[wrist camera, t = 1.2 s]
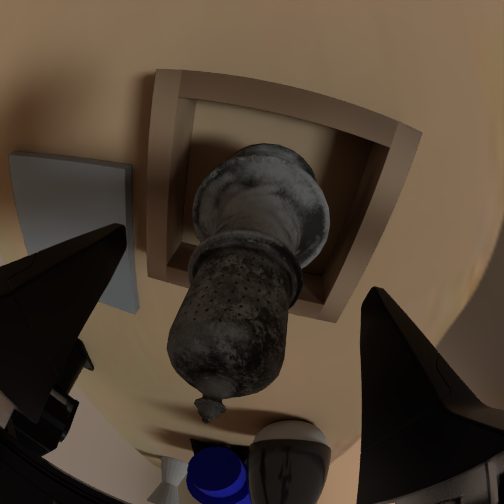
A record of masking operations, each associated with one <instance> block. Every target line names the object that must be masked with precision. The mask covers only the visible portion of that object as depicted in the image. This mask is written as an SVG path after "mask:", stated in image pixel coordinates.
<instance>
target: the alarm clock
mask: <svg viewBox="0 0 504 504" xmlns="http://www.w3.org/2000/svg"><path fill="white" fill-rule="evenodd" d="M190 441H191V445H192V448H193V452H194V456H193V457H192V458H191V460H190V462H189V463H188V468H187V472H188V474H187V479H186V482H187V487H188V490H189V492H190V493H191V495H192V496H193V497H194V498H195V499H196V500H198V501H199V502H200V503H202V504H251V501H250V496H249V491H248V484H247V455H248V449H246V450H242V451H239V452H235V453H234V452H233V451H231V450H229V449H227V448H223V447H210V448H205V447H203V446H202V445H200V444H198V443H197V442H195V441H193V440H192V439H190Z"/></svg>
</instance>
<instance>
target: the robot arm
mask: <svg viewBox="0 0 504 504" xmlns="http://www.w3.org/2000/svg"><path fill="white" fill-rule="evenodd" d="M126 248H127V235H126V227H125V226H124V225H122V224H119V223H113V224H110V225H107V226H104V227H101V228H99V229H96V230H93V231H90V232H88V233H85V234H82V235H79V236H77V237H74V238H71V239H69V240H66V241H64V242H61V243H59V244H56V245H53V246H51V247H48V248H46V249H44V250H41V251H39V252H38V253H37V252H36V253H34V254H31V255H29V256H26V257H24V258H22V259H19V260H17V261H14V262H11V263H9V264H6V265H3V266H1V267H0V504H131V503H128V502H125V501H123V500H121V499H118V498H116V497H114V496H111V495H109V494H107V493H105V492H103V491H100V490H98V489H96V488H94V487H92V486H90V485H88V484H86V483H84V482H83V481H81V480H79V479H77V478H75V477H73V476H71V475H70V474H68V473H66V472H64V471H63V470H61V469H60V468H58V467H56V466H55V465H53V464H52V463H50V462H48V461H47V460H45V459H44V458H42V457H41V456H43V455H45V454H47V453H49V452H51V451H52V450H54V449H56V448H57V446H58V443H59V442H62V441H63V440H64V439H65V437H66V435H67V434H68V431H69V429H70V427H71V424H72V421H73V418H74V415H75V413H76V410H77V407H78V405H79V402H78V401H77V400H74V399H73V398H72V397H70V396H69V395H68V394H69V392H70V390H71V388H72V387H73V385H74V383H75V381H76V379H77V378H78V376H79V374H80V372H81V370H82V369H83V367H84V368H86V369H88V370H91V371H93V370H94V367H93V365H92V362H91V360H90V358H89V356H88V354H87V352H86V349H85V347H84V345H83V343H82V342H81V341H79V340H77V338H78V336H79V334H80V332H81V330H82V328H83V327H84V325H85V323H86V321H87V320H88V318H89V316H90V314H91V313H92V311H93V309H94V307H95V306H96V304H97V302H98V301H99V299H100V297H101V296H102V294H103V292H104V291H105V289H106V288H107V286H108V284H109V282H110V281H111V279H112V277H113V275H114V273H115V271H116V269H117V267H118V265H119V263H120V261H121V259H122V257H123V255H124V253H125V251H126ZM360 356H361V381H362V434H361V455H360V472H359V484H358V494H357V504H389V503H395V504H504V410H501V409H496V408H492V407H489V406H487V405H485V404H484V403H482V402H481V401H480V400H479V399H478V398H477V397H476V396H475V394H474V393H473V392H472V391H471V390H470V389H469V388H468V386H467V385H466V384H465V383H464V382H463V381H462V380H461V379H460V378H459V376H458V375H457V374H456V373H455V372H454V370H453V369H452V368H451V367H450V366H449V364H448V363H447V362H446V361H445V360H444V358H443V357H442V356H441V355H440V353H438V351H437V350H436V349H435V347H434V346H433V345H432V344H431V342H430V341H429V340H428V339H427V338H426V336H425V335H424V334H423V333H422V332H421V331H420V329H419V328H418V327H417V326H416V325H415V324H414V322H413V321H412V320H411V319H410V318H409V317H408V315H407V314H406V313H405V312H404V311H403V310H402V309H401V308H400V306H399V305H398V304H397V303H396V302H395V301H394V300H393V299H392V298H391V296H390V295H389V294H388V293H387V292H386V291H385V290H384V289H383V288H379V287H375V286H374V287H372V288H371V289H370V291H369V293H368V294H367V296H366V298H365V300H364V301H363V303H362V307H361V330H360Z"/></svg>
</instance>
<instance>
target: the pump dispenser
mask: <svg viewBox="0 0 504 504" xmlns="http://www.w3.org/2000/svg"><path fill="white" fill-rule="evenodd" d="M330 459H331V449H330V447H329V446H328V443H327V440H326V437H325V435H324V434H323V432H322V431H321V430H320V429H319V428H317V427H316V426H314V425H312V424H310V423H307V422H303V421H297V420H284V421H279V422H275V423H272V424H269V425H267V426H266V427H264V428H263V429H262V430H261V431H260V432H259V433H258V434H257V435H256V437H255V439H254V441H253V443H252V444H251V445H250V446H249V449H248V455H247V484H248V491H249V496H250V501H251V504H316V503H317V501H318V499H319V497H320V495H321V493H322V490H323V487H324V484H325V482H326V478H327V474H328V470H329V465H330Z"/></svg>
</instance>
